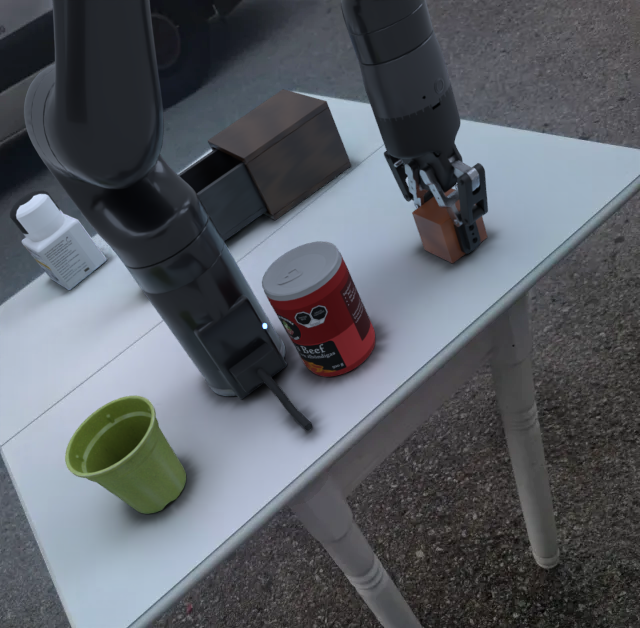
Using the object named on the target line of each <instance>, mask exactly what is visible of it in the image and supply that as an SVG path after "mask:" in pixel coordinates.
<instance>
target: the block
mask: <svg viewBox="0 0 640 628" xmlns="http://www.w3.org/2000/svg"><path fill="white" fill-rule="evenodd" d="M455 190H456V188H451V189H450V190H448V191H447V192H445V193H444V194H445V196H446V197H447V196H448V195H449V194H451V193H452V192H453V191H455ZM475 205H476V204H475ZM455 206H456V208H457V210H458V212H459V211H461V210H460V202H459V200H458V201H456V203H455ZM411 214H412V218H413V220H414V223H415V226H416V229H417V232H418V235H419V237H420V240H421V244H422V247H423V250H424V251H426V252H427V253H430V254H432V255H434V256H436V257H438V258H440V259H442V260H444V261H446V262H448V263H450V264H454V263H456V262H457V261H458V260H460V259H461V258H462V257H464V256H465V255H466V253H464V252H462V251H461V248H460V245H459V242H458V238H457V235H456V232H455V228H454V223H453V221H452V219H451V218H450V216H449V214H448V212H447V210H446V208H441V207H440V206H439V205H438V203H437V201H436V199H435V197H432V198H431V199H430V200H428V201H427V202H426V203H424V204H423V205H421V206H420V207H419V208H416V209H415V210H413V211H412V212H411ZM476 224H477V227H478V232H479V235H480V238H481V243H482V242H484V241H485V240H486V239H488V233H487V229H486V226H485V222H484V218H483V216H481V217H480V218H479V219H477V220H476Z"/></svg>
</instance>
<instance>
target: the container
mask: <svg viewBox="0 0 640 628" xmlns="http://www.w3.org/2000/svg"><path fill="white" fill-rule="evenodd" d="M9 218H10V219H11V221H12V222H13V223H14V224H15V225H16V227H17V228H18V229H19V231H20V232H21V233H22V235H24V238H23V239H21V244H22V246H24V248H25V249H26V250H27V252H28V253H29V254H30V255H31V256H32V258H33V259H34V260H35V261H36V262H37V264H38V265H39V266H40V268H41V269H42V270H43V271H44V272H45V274H46V275H47V276H48V278H50V280H52V281H53V282H55V283H57V284H58V285H60V286H61V287H63V288H64V289H66V290H68V291H70V290H73V288H74V287H76V286H77V285H78V284H80V283H81V282H82V281H83V280H84V279H86V278H87V277H89V275H91V274H92V273H94V271H96V270H97V269H98V268H99V267H100V266H102V265H103V264H105V263H106V262H107V257H106V256H105V255H104V253H103V252H102V250H101V249H100V247H99V246H98V245H97V243H96V242H95V241H94V239H93V238H92V237H91V235H90V234H89V233H88V231H87V230H86V228H85V227H84V226H83V224H82V223H81V221H80V220H79V219H77V218H75V217H73V216H71V215H68V214H66V213H64V212H63V211H62V209H60V207H59V205H58V204H57V202H56V201H55V199H53V197H52V196H51V194H50V193H49V192H48V191H46V190H42V189H41V190H36V191H35V190H34V191H32V192H29V193H27V194H26V195H24V196H22V197H21V198H20V199H18V200H17V201H16V202H15V203H14V204H13V205H12V207H11V209H10V211H9Z"/></svg>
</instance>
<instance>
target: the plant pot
mask: <svg viewBox="0 0 640 628" xmlns="http://www.w3.org/2000/svg"><path fill="white" fill-rule="evenodd" d="M156 412H157V411H156V408H155V406H154V404H153V403H152V401H151V400H150V399H148V398H147V397H144V396H142V395H137V394H136V395H134V394H133V395H126V396H125V395H124V396H122V397H119V398H117V399H114V400H110V401H109V402H106V403H105V404H104V405H102V406H100V407H99V408H97V409H96V410H95V411H93V412H92V413H90V415H88V416H87V417H86V418H85V419H84V420H83V422H82V423H80V425H79V426H78V427H77V428H76V429H75V431H74V432H73V434H72V436H71V438H70V439H69V441H68V443H67V446H66V449H65V453H64V454H65V455H64V463H65V466H66V468H67V470H68V471H69V472H70V473H71V474H72V475H73V476H76V477H78V478H82V479H86V480H88V481H91V482H93V483H97V484H98V485H100V486H101V487H103V488H104V489H105V490H107V491H108V492H109V493H111V494H112V495H114V496H115V497H117V498H118V499H119V500H121V501H123V502H124V504H126V505H128V506H130V507H131V508H132V509H133V510H135V511H136V512H138V513H140V514H145V515H148V514H149V515H150V514H155V513H158V512H160V511H163V510H164V509H165V507H166V506H167V505H168V504H169V503H171V502H173V501H175V500H177V499H178V497H179V496H180V495H181V493H182V492H183V490H184V488H185V485H186V482H187V473H186V470H185V468H184V466H183V464H182V463H181V461H180V459H179V457H178V456H177V454H176V453H175V451H174V450H173V448H172V446H171V444H170V442H169V441H168V440H167V438H166V436H165V434H164V433H163V431H162V429H161V427H160V425H159V420H158V418H157V413H156Z"/></svg>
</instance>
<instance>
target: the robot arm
mask: <svg viewBox="0 0 640 628" xmlns="http://www.w3.org/2000/svg"><path fill="white" fill-rule="evenodd" d="M150 1H151V0H51V3H52V19H53V40H54V64H50V65H48V66H47V67H45V68H44V69H43V70H41V71H40V72H39V73H38V74H37V75H36V76H35V77H34V78H33V80H32V81H31V83H30V85H29V86H28V89H27V92H26V95H25V99H24V103H23V104H24V105H23V117H24V118H23V119H24V124H25V128H26V132H27V134H28V137H29V139H30V141H31V144H32V146H33V147H34V149H35V151H36V152H37V154H38V157H40V159H41V160H42V162H43V164H44V165H45V166H46V168H47V169H48V170H49V172H50V173H51V175H52V176H53V177H54V178H55V180H56V181H57V183H58V184H59V185H60V187H61V188H62V189H63V191H64V192H65V193H66V195H67V196H68V197H69V199H70V200H71V202H72V203H73V204H74V205H75V207H76V208H77V209H78V211H79V212H80V213H81V215H82V217H84V219H85V220H86V222H87V223H88V224H89V225H90V227H91V229H93V230H94V232H95V233H96V234H97V235H98V236H99V237H100V238H101V239H102V240H103V241H104V242H105V243H106V244H107V245H108V246H109V247H110V248H111V249H112V251H113V252H114V253H115V254H116V256H117V257H118V258H119V260H120V261H121V262H122V264H123V266H125V269H127V271H128V272H129V274H130V275H131V277H132V278H133V279H134V281H135V282H136V284H137V285H138V286H139V288H140V289H141V291H142V292H143V294H144V295H145V296H146V298H147V299H148V301H149V302H150V304H151V305H152V307H153V308H154V309H155V311H156V312H157V313H158V315H159V316H160V318H161V319H162V321H163V322H164V323H165V325H166V326H167V327H168V329H169V331H170V332H171V334H172V335H173V336H174V338H175V339H176V340H177V342H178V343H179V344H180V346H181V348H182V349H183V350H184V352H185V353H186V355H187V356H188V357H189V359H190V360H191V361H192V363H193V364H194V366H195V367H196V369H197V370H198V371H199V373H200V374H201V376H202V377H203V378H204V381H205V382H206V384H207V386H208V387H209V388H210V390H211V391H212V392H213V393H215V394H216V395H219V396H223V397H224V396H225V397H234V396H235V397H237V398H238V399H240V400H244V399H245V398H246V397H248V396H249V395H250V394H252V393H253V392H255V391H256V390H257V389H258V388H259V387H261V386H262V385H263V384H265V386H267V387H268V388H269V390H270V391H271V392H272V393H273V395H274V396H275V397H276V398H277V399H278V401H279V402H280V403H281V405H282V407H284V409H285V411H287V413H288V414H289V415H290V416H291V417H292V418H293V420H295V422H296V423H298V425H300V426H301V428H303V429H304V430H305V431H307V432H308V431H309V432H310V431H311V430H312V429H313V427H314V426H313V423H312V422H311V421H310V420H309V419H308V418H307V417H305V415H303V414H302V413H301V411H300V410H298V408H297V407H296V406H295V405H294V404H293V402H292V401H291V400H290V398H289V397H288V396H287V394H286V393H285V392H284V391H283V389H282V388H281V387H280V386H279V384H278V383H277V382H276V381H275V380H274V379H273V377H274V376H275V375H277V374H278V373H280V372H281V371H282V370H284V369H286V367H287V366H288V363H287V362H286V360H285V356H286V345H285V343H284V341H283V340H282V337H281V336H280V334H279V333H277V331H276V329H275V327H274V326H273V324H272V323H271V320H270V318H269V317H268V315H267V314H266V312H265V310H264V308H263V307H262V305H261V303H260V301H259V300H258V297H257V296H256V295H255V293H254V291H253V289H252V287H251V286H250V284H249V283H248V281H247V279H246V277H245V275H244V273H243V272H242V269H240V267H239V264H238V263H237V262H236V259H235V258H234V256H233V254H232V253H231V251H230V249H229V248H228V246H227V244H226V242H225V241H224V240H223V239H222V237H221V235H220V233H219V231H218V230H217V228H216V226H215V224H214V223H213V221H212V219H211V217H210V216H209V214H208V212H207V210H206V209H205V207H204V205H203V203H202V202H201V200H200V198H199V196H198V195H197V193H196V192H195V191H194V189H193V188H192V187H191V186H190V185H189V184H188V183H186V182H185V181H184V180H183V179H182V178H181V177H180V176H179V175H178V174H179V173H177V172H176V171H175V170H174V169H173V168H172V167H171V166H170V165H169V163H168V162H167V161H166V160H165V158H163V156H162V155H161V151H162V148H163V144H164V135H165V119H164V118H165V117H164V107H163V99H162V90H161V83H160V76H159V67H158V61H157V60H158V59H157V52H156V44H155V36H154V29H153V23H152V13H151V11H152V10H151V2H150ZM340 8H341V13H342V17H343V20H344V23H345V27H346V31H347V33H348V36H349V39H350V41H351V44H352V45H351V46H352V47H353V50H354V53H355V56H356V59H357V62H358V65H359V69H360V73H361V79H362V83H363V84H362V85H363V88H364V91H365V94H366V96H367V99H368V102H369V105H370V107H371V111H372V113H373V116H374V119H375V122H376V124H377V128H378V130H379V134H380V136H381V139H382V142H383V145H384V148H385V150H384V152H383V157H384V159H385V161H386V163H387V165H388V167H389V169H390V171H391V173H392V175H393V178H394V180H395V182H396V184H397V186H398V188H399V191H400V192H401V195H402V196H403V198H404V199H405V201H407V202H411V201H413V204H414V207H415V208H416V209H417V208H419V207H420V206H421V205H423V204H424V203H426V202H427V201H428V200H430V199H431V198H432V197H435V199H436V201H437V203H438V205H439V206H440V207H441V208H446V210H447V212H448V214H449V216H450V218H451V219H452V221H453V223H454V228H455V232H456V235H457V238H458V242H459V245H460V248H461V251H462V252H464V253H466V254H467V255H468V254H470V253H472V252H473V251H474V250H475V249H477V248H478V247H479V246H480V245H481V243H482V242H481V238H480V235H479V232H478V227H477V224H476V220H477V219H479V218H480V217H481V216H482V217H483V216H485V215H486V214H488V213H489V206H488V205H489V204H488V193H487V192H488V191H487V179H486V170H485V167H484V166H483V164H481V163H479V162H476V163H475V164H474V165H473V166H469V165H468V164H467V163H464V160H463V157H462V154H461V153H460V151H459V149H458V147H457V145H456V138H457V135H458V133H459V130H460V128H461V117H460V116H461V115H460V114H459V113H460V112H459V109H458V105H457V101H456V98H455V94H454V91H453V87H452V82H451V79H450V75H449V72H448V71H449V70H448V68H447V64H446V60H445V56H444V53H443V50H442V47H441V44H440V43H439V41H438V38H437V35H436V32H435V30H434V27H433V22H432V19H431V15H430V12H429V7H428V5H427V0H340ZM451 188H452V189H455V191H453V192H452V193H451V194H449V195H448V196H447V197H446V196H445V194H444V193H445V192H447V191H448V190H450V189H451ZM458 200H459V202H460V210H461V211H459V212H458V210H457V208H456V206H455V203H456V201H458ZM475 204H476V205H475ZM466 254H465V255H466Z"/></svg>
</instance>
